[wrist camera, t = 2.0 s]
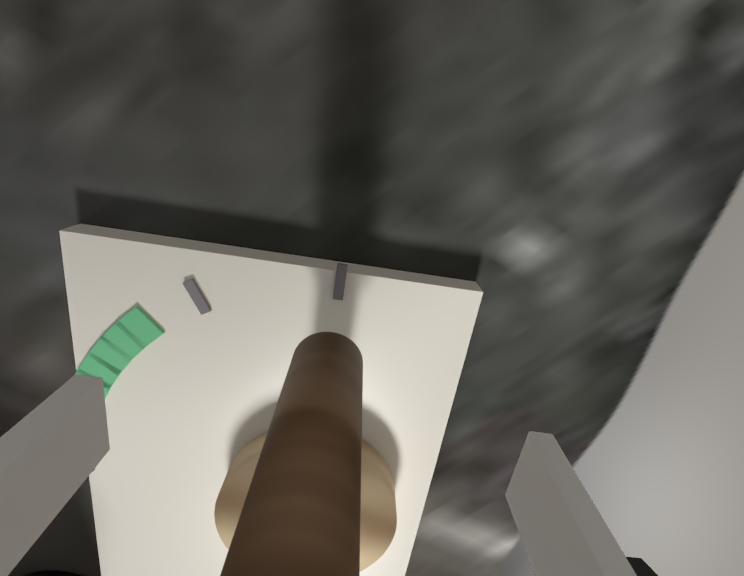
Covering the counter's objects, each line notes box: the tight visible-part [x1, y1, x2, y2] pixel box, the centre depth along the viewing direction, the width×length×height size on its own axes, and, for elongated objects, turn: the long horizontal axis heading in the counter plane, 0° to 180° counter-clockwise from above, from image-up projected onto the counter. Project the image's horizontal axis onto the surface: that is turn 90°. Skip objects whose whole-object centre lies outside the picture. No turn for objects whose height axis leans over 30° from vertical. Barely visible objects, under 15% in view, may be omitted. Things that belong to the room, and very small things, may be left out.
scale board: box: [59, 224, 483, 576], centre depth 24 cm, size 24×21×2 cm
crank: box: [214, 332, 397, 576], centre depth 17 cm, size 18×10×13 cm, turn 171°
